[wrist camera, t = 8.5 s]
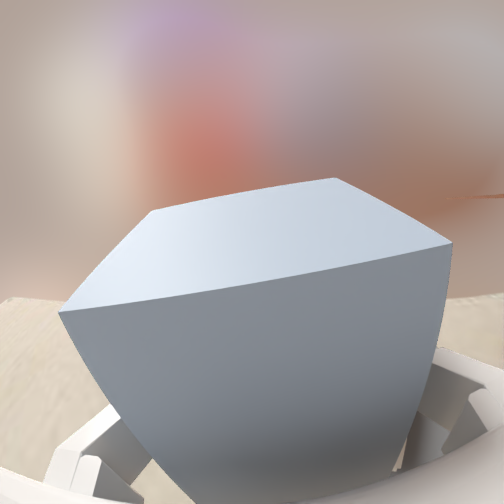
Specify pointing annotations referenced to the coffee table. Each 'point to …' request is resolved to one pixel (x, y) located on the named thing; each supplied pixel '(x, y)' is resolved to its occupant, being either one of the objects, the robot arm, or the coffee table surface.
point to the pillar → (267, 338)
